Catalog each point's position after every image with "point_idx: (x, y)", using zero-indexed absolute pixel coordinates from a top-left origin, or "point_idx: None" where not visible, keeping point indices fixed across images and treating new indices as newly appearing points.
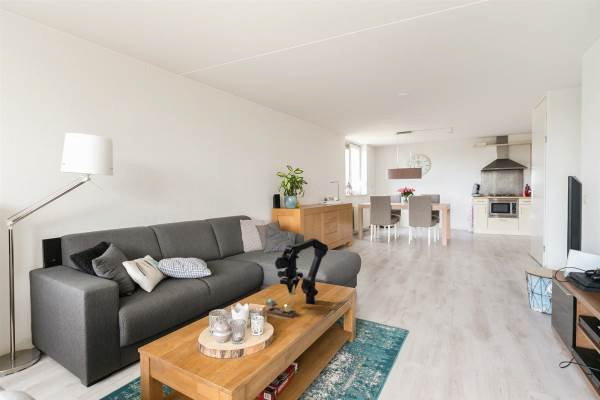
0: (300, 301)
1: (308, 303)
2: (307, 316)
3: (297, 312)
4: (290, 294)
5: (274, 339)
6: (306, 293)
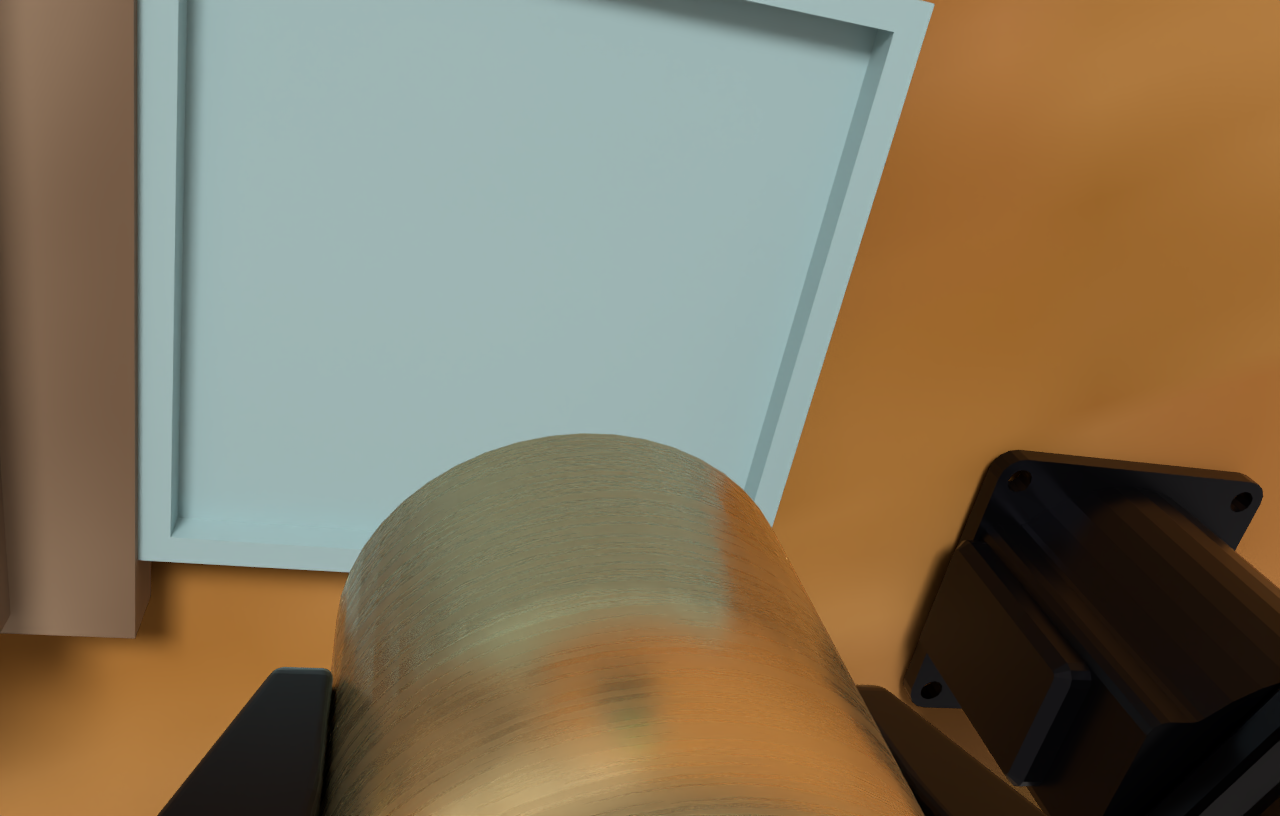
0: (1245, 272)
1: (942, 626)
2: (158, 804)
3: (115, 609)
4: (338, 647)
5: None
6: (1254, 735)
